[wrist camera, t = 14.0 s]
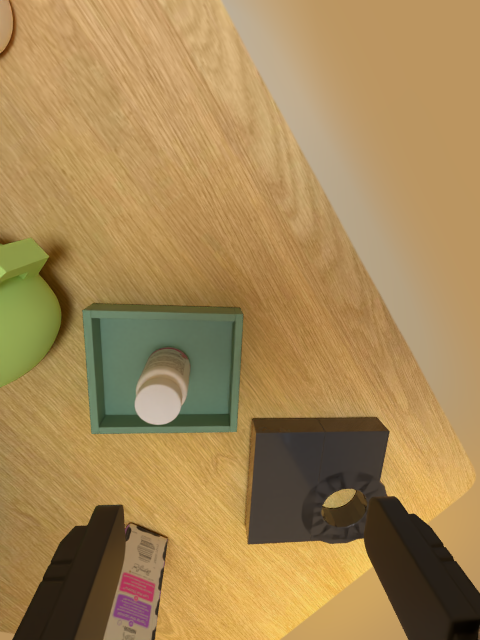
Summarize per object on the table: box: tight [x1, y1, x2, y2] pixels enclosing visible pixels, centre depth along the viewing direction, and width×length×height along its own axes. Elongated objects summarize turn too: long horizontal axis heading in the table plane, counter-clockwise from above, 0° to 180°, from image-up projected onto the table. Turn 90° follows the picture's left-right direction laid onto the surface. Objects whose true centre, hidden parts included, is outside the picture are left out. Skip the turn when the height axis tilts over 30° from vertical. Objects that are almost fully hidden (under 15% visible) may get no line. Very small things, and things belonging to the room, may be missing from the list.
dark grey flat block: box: [245, 417, 389, 544], centre depth 41 cm, size 18×17×3 cm
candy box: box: [103, 523, 168, 640], centre depth 36 cm, size 14×6×16 cm, turn 147°
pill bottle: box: [135, 347, 190, 425], centre depth 32 cm, size 5×5×8 cm
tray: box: [82, 303, 243, 434], centre depth 35 cm, size 16×14×3 cm
